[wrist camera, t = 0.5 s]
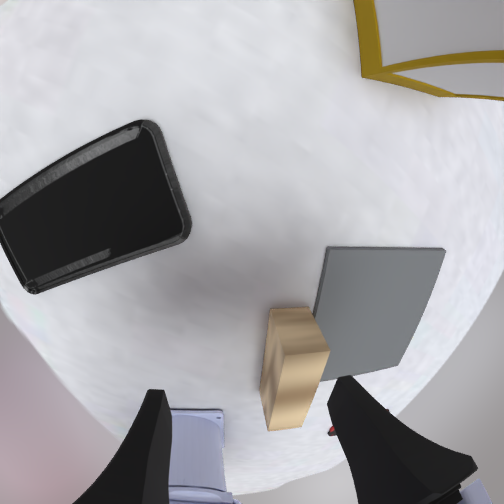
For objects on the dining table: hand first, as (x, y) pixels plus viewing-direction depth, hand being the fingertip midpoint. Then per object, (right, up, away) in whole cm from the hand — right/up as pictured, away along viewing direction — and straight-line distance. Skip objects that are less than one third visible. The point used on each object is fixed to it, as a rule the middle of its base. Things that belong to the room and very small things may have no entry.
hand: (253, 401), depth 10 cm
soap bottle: (+13, +21, +3) cm, 25 cm away
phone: (-12, +9, +6) cm, 16 cm away
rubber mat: (+11, 0, +12) cm, 16 cm away
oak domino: (+2, -2, +12) cm, 13 cm away
